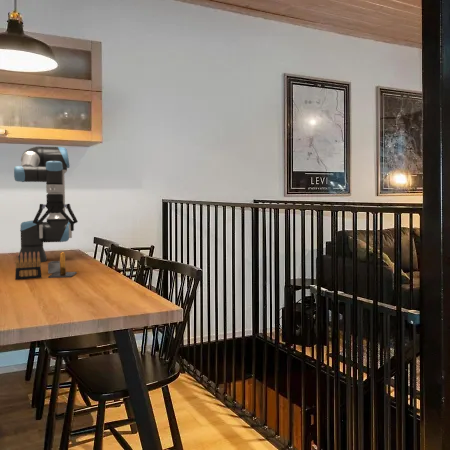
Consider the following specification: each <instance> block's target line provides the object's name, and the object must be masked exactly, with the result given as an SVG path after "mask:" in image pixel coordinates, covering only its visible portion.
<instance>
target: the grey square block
mask: <svg viewBox="0 0 450 450" xmlns="http://www.w3.org/2000/svg"><path fill="white" fill-rule="evenodd" d="M55 272H60V260H51V261H50V262H47V273H48V274H53V273H55Z"/></svg>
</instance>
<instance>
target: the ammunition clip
mask: <svg viewBox="0 0 450 450" xmlns="http://www.w3.org/2000/svg"><path fill="white" fill-rule="evenodd" d="M18 253H19V252H16V254H15V262H14V263H15V265H14V266H15V269H14V270H15V275H14V279H15V280H16V281H18V280H19V281H20V280H30V279H31V280H32V279H42V278H43V277H42V268H41V267H42V265H41V263H42V262H41V261H40V253H39V251H38V253H37V266H36V255H35V252H33V261H32V258H31V252H29V258H28V260H27V253H26V252H25V255H24V262H23V254H22V252H21V254H20V263H19V254H18ZM32 266H33V267H32ZM32 270H33V275H32Z"/></svg>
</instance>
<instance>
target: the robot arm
mask: <svg viewBox="0 0 450 450" xmlns="http://www.w3.org/2000/svg"><path fill="white" fill-rule="evenodd" d="M20 161H21V165H16V166H15V167H14V168H13V177H14V180H15V182H18V183H19V182H21V183H46V184H45V185H46V186H45V188H46V189H45V190H46V191H45V192H46V193H47V194H46V195H45V197H46V204H44V203H39V208H38V211H37V212H36V215H34V216H35V217H34V219H33V220H27V221H23V222H21V223H20V228H19V229H20V230H19V231H20V250H19V252H18V253H19V254H18V256H19V264H20V254H21V252H22V254H23V262H24V255H25V252H26V253H27V260H28V258H29V252H31V258H32V261H33V252H35V255H36V263H37V253H38V251H39V253H40V261H41V263H44V262H47V261H48V258H47V254H46V251H45V249H44V243H63V242H68V241H69V239H72V238H73V233H72V232H74V230H75V224H77V223H78V220H77V217H76V215H75V214H74V211H73V210H72V208H71V204H70V203H66V191H65V189H66V186H65V185H66V184H65V174H66V173H67V172H68V169H69V168H70V160H69V154H68V150H67V148H66V147H61V146H35V147H34V146H33V147H30V148H28V149H26V150H24V151H23V153H21V157H20ZM45 208H46V209H47V210H46V211H45V213H44V214H42V212H43V210H44V209H45ZM66 209H67V211H68V213H69V215H70V216H69V215H68V214H67V213H66ZM41 215H42V216H41ZM48 215H49V216H48ZM40 216H41V217H40ZM70 217H71V218H70ZM45 219H46V221H45Z"/></svg>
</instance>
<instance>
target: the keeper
mask: <svg viewBox="0 0 450 450" xmlns="http://www.w3.org/2000/svg"><path fill="white" fill-rule="evenodd" d="M59 261H60V272H55V273H50V274H49V275H48V277H47V278H49V279H52V278H53V279H54V278H57V279H58V278H72V277H73V276H75V275H76V274H77V273H78V272H77V271H67V270H66V267H67V266H66V252H64V251H61V252H60V253H59Z"/></svg>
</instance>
